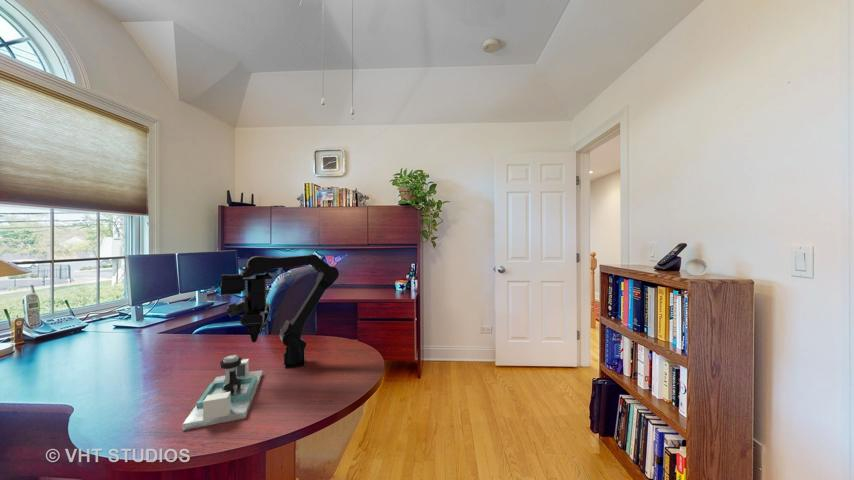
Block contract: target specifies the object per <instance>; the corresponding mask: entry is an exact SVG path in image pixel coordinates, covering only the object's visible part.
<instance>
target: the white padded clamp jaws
mask: <svg viewBox="0 0 854 480" xmlns="http://www.w3.org/2000/svg"><path fill="white" fill-rule="evenodd" d="M249 364H250V361H249V358H242V361H241V364H240V365H239V366H238V367H237V378H239V377H246V376H247V375H248V373H249V372H250V365H249ZM230 409H231V391H230V392H224V393H218V394H212V395H207V397H206V398H205V400H204V401H203V420H206V419H211V418H217V417H222V416H227V415H228V413H229V411H230Z"/></svg>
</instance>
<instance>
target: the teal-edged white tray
mask: <svg viewBox="0 0 854 480" xmlns="http://www.w3.org/2000/svg"><path fill="white" fill-rule="evenodd" d="M262 377H263V370H254V371H249V373H248V375H247V376H246V377H239V378H238V379H241V387H240V388H239V389H237V391H235V392H232V393H231V409H230V411H229V413H228V415H227V416H222V417H217V418H211V419H206V420H203V401H204V400H205V398H206V397H207V395H212V394H218V393H221V392H222V386H223V385H225V375H220V376H216V377H215V378H214V380H213V381H212V382H210V384H209V385H208V386H207V388H206V389H205V391H204V392H203V393H202V395H201V397H200V398H199V399H198V401H196V405H195V406H194V407H193V409H192V410H191V412H190V413H189V415H188V416H187V417H186V418H185V420H184V422H183V423H182V431H186V430H191V429H192V430H193V429H197V428H202V427H208V426H212V425H217V424H222V423H229V422H233V421H238V420H243V419H246V418H247V415H248V413H249V410H250V407H251V405H252V402H253V400H254V398H255V395H256V392H257V389H258V387H259V386H260V385H259V384H260V382H261V379H262Z"/></svg>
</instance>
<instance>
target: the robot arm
mask: <svg viewBox="0 0 854 480" xmlns="http://www.w3.org/2000/svg"><path fill="white" fill-rule="evenodd" d="M302 266H311V268H313V269H314V270H315V271H317V272H318V275H317V277H316V281H315V284H314V286H313V287H312V289H311V291H310V293H309V294H308V296H307V297H306V299H305V300H304V302H303V303H302V304H301V306H300V308H299V309H298V311H297V313H296V314H295V316H294V317H293V318H292V319H291V320H288V319H286V320H285V322H283V323H284V324H283V325H282V326H281V328H280V329H279V331H280V332H279V339H280V341H281V342H282V344H283V346H285V347H286V348H285V350H284V353H283V365H284V366H285V367H284V369H289V368H298V367H303V366H305V365H306V358H305V357H306V355H305V353H306V350H305V349H306V347H307V342H306V341H305V339H304V338H303V337H302V334H303V331H304V328H305V324H306V323H307V321H308V319H309V317H310V316H311V315H312V313H313V311H314V310H315V308H316V306H317V305H318V303H319V301H320V300H321V298H322V297H323V295H324V293H325V291H327V289H329V288H330V287H331V286H332V285H334V283H335V282H336V281H337V280H338V278H339V276H340V271H339V270H338V268H336V266H332V265H329V264H328V263H327V262H326V261H324V260H323V259H321V258H320V257H319V256H318V255H317V254H315V253H314V254H306V255H305V254H303V255H296V256H295V255H294V256H293V255H292V256H282V257H274V256H273V257H271V256H260V255H258V256H257V255H255V256H251V257H250V258H248V260H247V262H246V266H245V268H244V269H243V270H241V272H240V273H239V274H222V275H221V284H220V297H223V296H225V297H226V296H233V295H242V292H245V290H246V296H245V298H244V300H242V301H239V302H234V303H230V304H229V305H228V306H227V307H226V314H227V315H229V317H230V318H232V317H234V316H237V315H238V314H241V313H243V312H244V314H243V315H242V316H241V317H240V322H239V323H240V325H241V326H243V327H245V328H247V330H248V333H249V335H250V339H251V342H252V343H256V342H257V341H258V338H259V336H260V334H262V331H264V326H265V324H266V322H267V320H268V318H269V315H270V312H271V304H269V303H267V297H268V293H267V280H272V279H274V278H273V276H271V274H269V271H270V272H271V271H273V270H277V269H282V268H290V267H293V268H294V267H302ZM262 273H263V274H262ZM253 275H254V276H253ZM252 276H253V277H252ZM266 311H267V312H266Z"/></svg>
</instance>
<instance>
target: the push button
mask: <svg viewBox="0 0 854 480" xmlns="http://www.w3.org/2000/svg"><path fill="white" fill-rule="evenodd" d="M242 360H243V357H241V356H239V354H230V355H227V356H225V357H223V359H222V360H221V361H220V362H219V364H220V368H221V369H223V370H224V376H225V385H223V386H222V392H221V393H224V392H230V391H231V393H232V392H235V391H237V389H239V388H240V387H241V379H238V378H237V367H238V366H239V365H240V364H241V361H242Z"/></svg>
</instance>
